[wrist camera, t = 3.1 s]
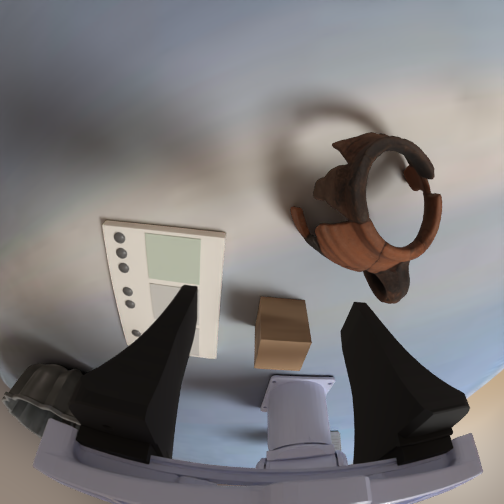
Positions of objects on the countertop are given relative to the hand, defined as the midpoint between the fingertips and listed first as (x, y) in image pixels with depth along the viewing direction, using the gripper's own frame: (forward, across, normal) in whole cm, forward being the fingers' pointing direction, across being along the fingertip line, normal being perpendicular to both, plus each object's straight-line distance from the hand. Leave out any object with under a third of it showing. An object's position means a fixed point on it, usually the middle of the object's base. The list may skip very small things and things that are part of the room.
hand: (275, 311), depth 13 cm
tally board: (+10, +8, +10) cm, 16 cm away
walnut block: (+10, -2, +10) cm, 15 cm away
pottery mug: (+10, -6, -2) cm, 12 cm away
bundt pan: (+11, +24, +36) cm, 45 cm away
